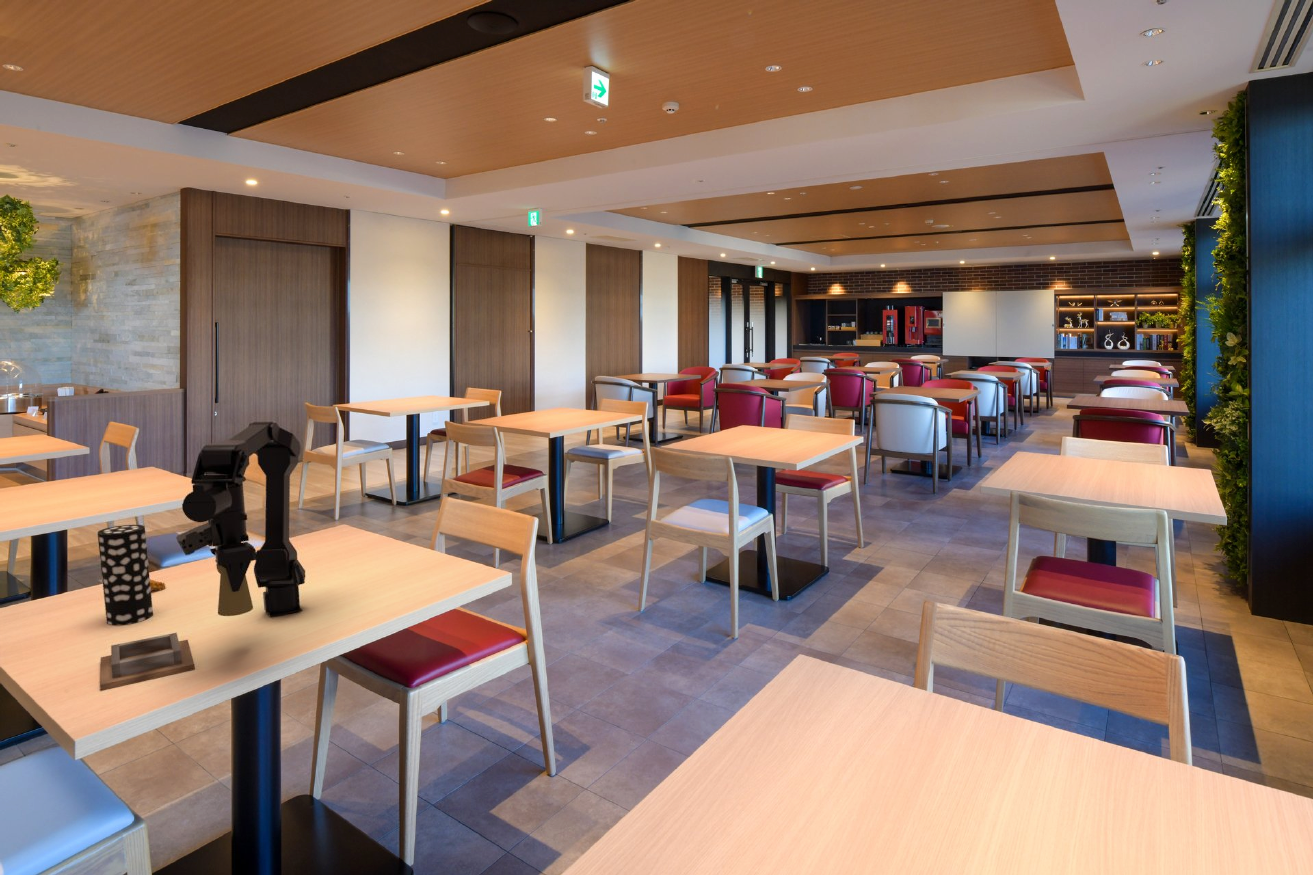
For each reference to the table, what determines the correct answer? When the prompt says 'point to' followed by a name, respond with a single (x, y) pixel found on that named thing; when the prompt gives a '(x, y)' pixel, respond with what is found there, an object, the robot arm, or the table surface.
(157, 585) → the ornament
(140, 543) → the white-spotted black cylinder
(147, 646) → the shaker holder
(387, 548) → the table surface
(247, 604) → the cork
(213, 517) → the robot arm
